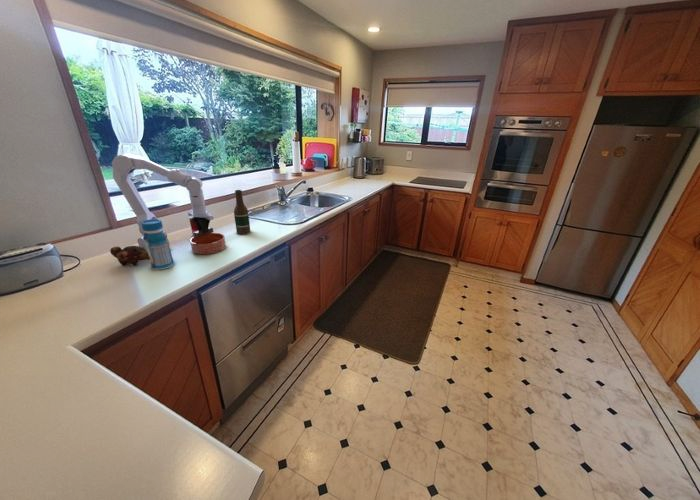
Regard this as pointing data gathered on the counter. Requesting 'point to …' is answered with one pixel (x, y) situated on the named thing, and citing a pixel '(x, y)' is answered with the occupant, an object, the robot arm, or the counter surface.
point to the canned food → (193, 225)
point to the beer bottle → (241, 215)
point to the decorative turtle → (130, 254)
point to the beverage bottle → (157, 244)
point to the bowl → (208, 243)
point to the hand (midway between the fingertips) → (203, 231)
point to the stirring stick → (200, 232)
